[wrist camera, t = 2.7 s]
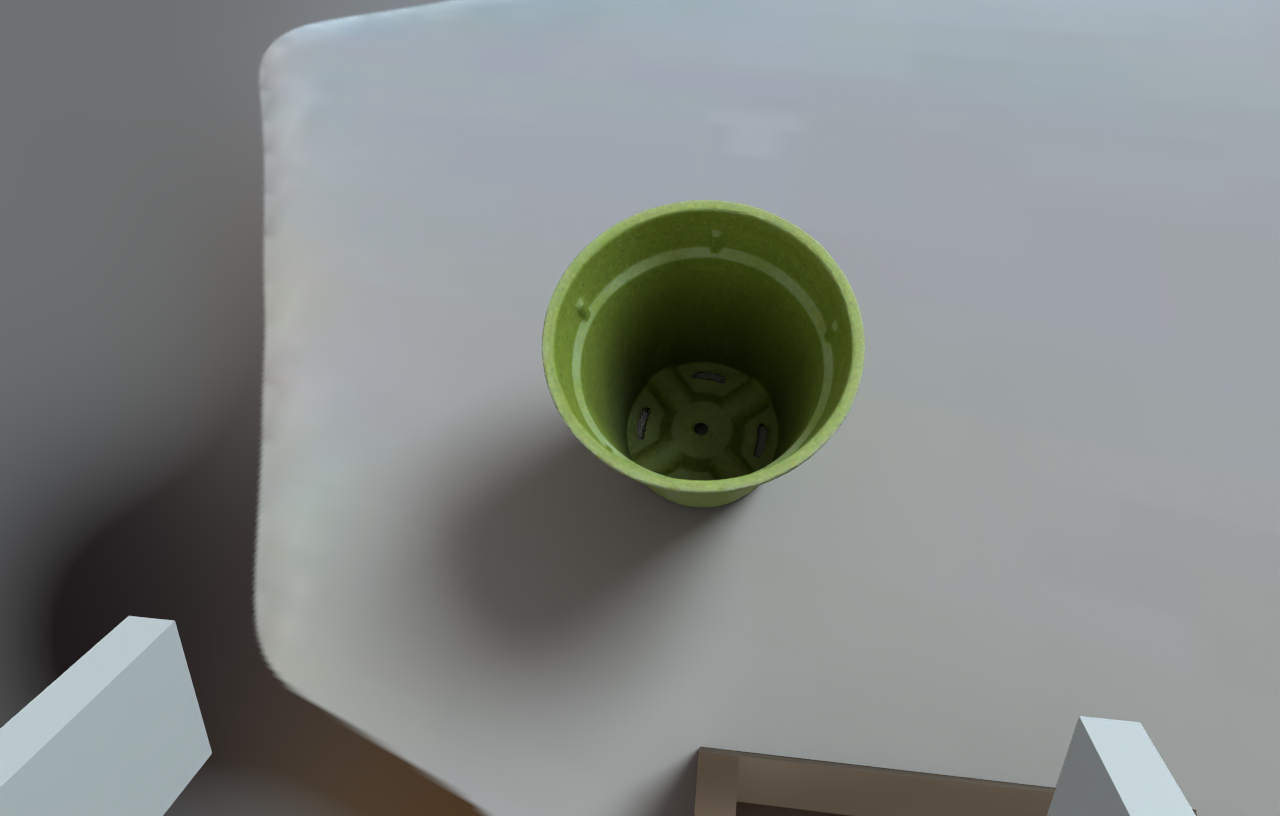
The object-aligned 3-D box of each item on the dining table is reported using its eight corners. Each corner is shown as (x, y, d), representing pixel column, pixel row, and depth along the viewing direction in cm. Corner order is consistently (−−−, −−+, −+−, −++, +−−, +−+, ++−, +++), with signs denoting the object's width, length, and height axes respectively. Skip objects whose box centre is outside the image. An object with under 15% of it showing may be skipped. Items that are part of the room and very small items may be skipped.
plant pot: (832, 338, 31) (872, 210, 23) (816, 568, 28) (857, 511, 20) (607, 317, 33) (572, 189, 25) (567, 535, 29) (511, 469, 21)
